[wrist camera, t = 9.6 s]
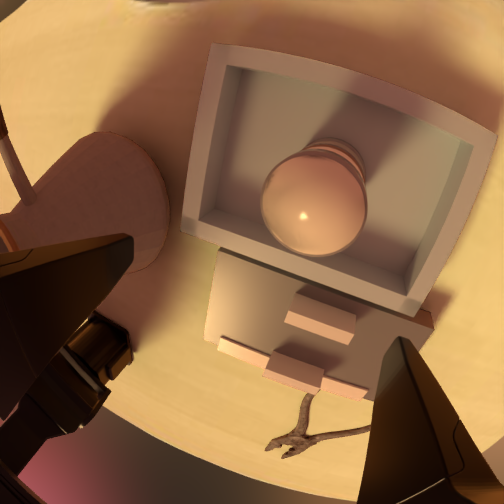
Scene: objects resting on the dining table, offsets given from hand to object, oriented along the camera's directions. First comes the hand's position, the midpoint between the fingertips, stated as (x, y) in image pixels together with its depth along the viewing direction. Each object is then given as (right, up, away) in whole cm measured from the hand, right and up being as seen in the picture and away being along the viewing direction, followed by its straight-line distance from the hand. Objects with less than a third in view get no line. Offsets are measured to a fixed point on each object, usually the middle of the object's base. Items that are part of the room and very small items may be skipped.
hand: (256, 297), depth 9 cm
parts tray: (+5, +6, +9) cm, 12 cm away
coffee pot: (-9, +10, +12) cm, 19 cm away
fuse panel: (+5, -4, +14) cm, 15 cm away
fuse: (+5, +6, +8) cm, 11 cm away
